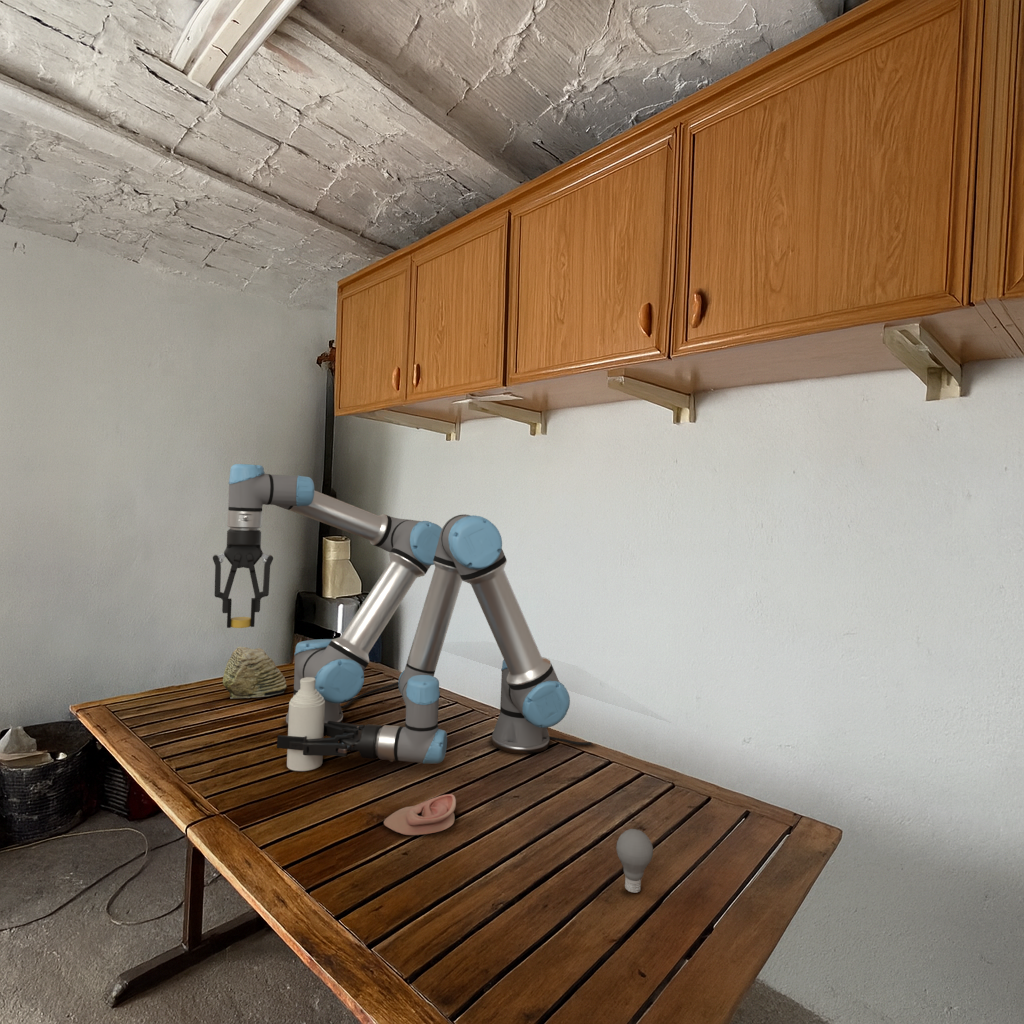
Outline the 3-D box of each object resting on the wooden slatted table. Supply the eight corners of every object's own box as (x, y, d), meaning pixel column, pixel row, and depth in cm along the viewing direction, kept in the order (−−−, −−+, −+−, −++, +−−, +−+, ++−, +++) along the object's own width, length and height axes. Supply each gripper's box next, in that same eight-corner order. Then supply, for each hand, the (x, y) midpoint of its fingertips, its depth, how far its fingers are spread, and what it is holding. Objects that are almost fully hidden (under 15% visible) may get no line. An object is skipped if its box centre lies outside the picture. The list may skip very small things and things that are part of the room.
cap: (249, 627, 150) (250, 620, 150) (228, 628, 149) (229, 620, 149) (252, 624, 154) (252, 616, 154) (231, 624, 153) (232, 616, 153)
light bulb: (610, 879, 108) (613, 822, 108) (644, 879, 109) (647, 822, 109) (619, 902, 102) (622, 840, 102) (655, 901, 103) (658, 840, 103)
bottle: (279, 766, 148) (282, 680, 147) (303, 754, 155) (306, 672, 154) (306, 773, 144) (309, 686, 144) (329, 761, 152) (332, 677, 151)
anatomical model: (377, 810, 121) (400, 784, 132) (376, 830, 121) (399, 803, 132) (444, 820, 118) (461, 792, 129) (443, 841, 118) (460, 812, 129)
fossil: (218, 695, 195) (220, 647, 195) (278, 685, 208) (279, 640, 207) (228, 703, 189) (230, 653, 188) (289, 692, 201) (290, 645, 201)
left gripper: (203, 528, 144) (199, 631, 144) (284, 530, 151) (280, 627, 152) (203, 527, 151) (200, 624, 151) (282, 528, 158) (278, 621, 159)
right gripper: (365, 777, 138) (264, 768, 140) (391, 741, 158) (304, 734, 160) (366, 743, 137) (265, 735, 139) (393, 711, 158) (305, 704, 160)
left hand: (240, 626), depth 152 cm, fingers closed on cap, 4 cm apart
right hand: (286, 734), depth 150 cm, fingers closed on bottle, 8 cm apart
